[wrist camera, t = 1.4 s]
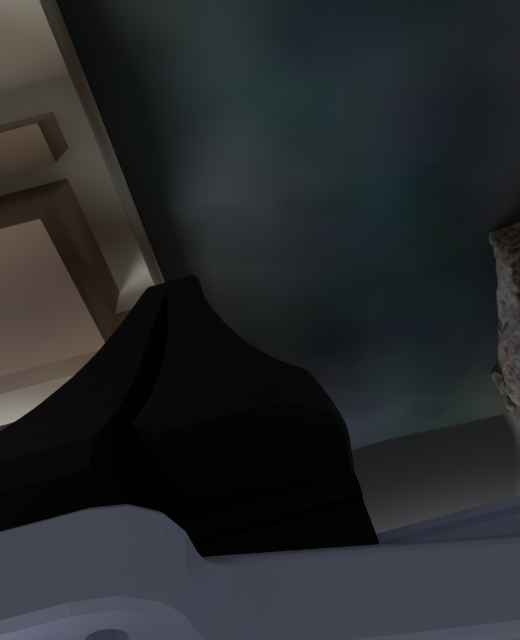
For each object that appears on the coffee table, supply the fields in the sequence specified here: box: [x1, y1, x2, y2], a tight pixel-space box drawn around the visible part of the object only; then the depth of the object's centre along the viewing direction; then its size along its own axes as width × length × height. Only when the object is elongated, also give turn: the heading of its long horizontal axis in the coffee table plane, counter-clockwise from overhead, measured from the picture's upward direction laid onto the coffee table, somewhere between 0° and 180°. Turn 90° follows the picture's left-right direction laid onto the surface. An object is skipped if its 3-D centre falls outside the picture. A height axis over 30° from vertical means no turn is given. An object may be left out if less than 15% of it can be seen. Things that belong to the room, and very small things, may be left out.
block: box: [0, 179, 120, 376], centre depth 16 cm, size 5×5×4 cm
